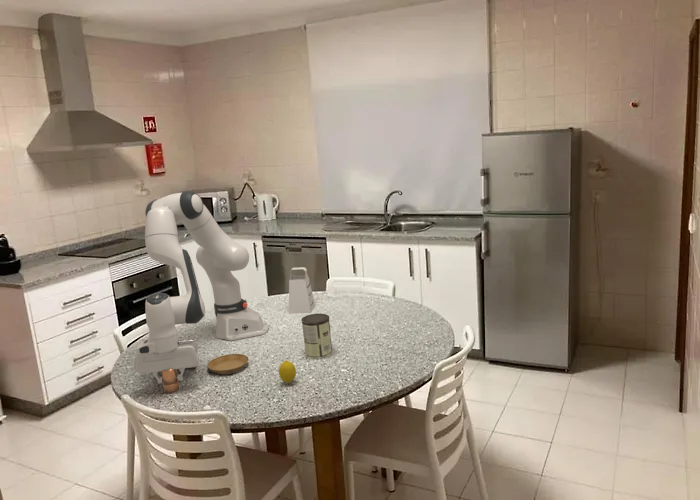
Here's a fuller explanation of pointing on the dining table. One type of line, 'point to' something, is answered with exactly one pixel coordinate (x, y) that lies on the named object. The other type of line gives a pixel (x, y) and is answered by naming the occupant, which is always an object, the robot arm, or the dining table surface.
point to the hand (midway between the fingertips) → (170, 381)
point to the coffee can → (317, 336)
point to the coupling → (170, 381)
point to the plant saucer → (228, 363)
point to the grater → (300, 293)
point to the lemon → (287, 371)
